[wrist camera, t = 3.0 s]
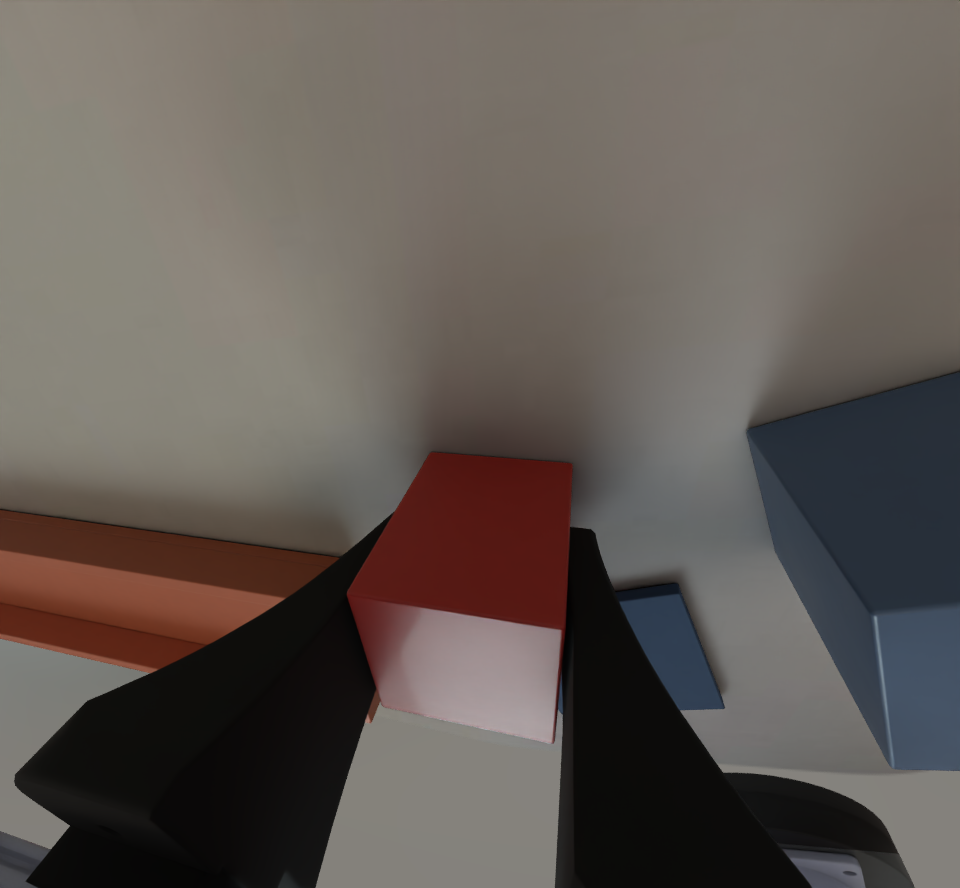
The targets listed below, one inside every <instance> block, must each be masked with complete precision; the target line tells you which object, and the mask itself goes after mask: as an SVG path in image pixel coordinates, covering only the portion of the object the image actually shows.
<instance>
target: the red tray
mask: <svg viewBox="0 0 960 888" xmlns="http://www.w3.org/2000/svg"><path fill="white" fill-rule="evenodd" d="M338 559H339V558H337V557H330V556H323V555H316V554H309V553H302V552H295V551H288V550H281V549H274V548H267V547H259V546H252V545H245V544H238V543H231V542H224V541H217V540H210V539H203V538H196V537H189V536H182V535H174V534H167V533H160V532H153V531H146V530H139V529H132V528H125V527H118V526H111V525H104V524H97V523H89V522H82V521H75V520H68V519H61V518H54V517H47V516H40V515H33V514H26V513H19V512H12V511H4V510H0V639H4V640H8V641H13V642H17V643H21V644H26V645H30V646H34V647H39V648H43V649H48V650H52V651H56V652H61V653H65V654H69V655H74V656H78V657H82V658H87V659H91V660H95V661H100V662H104V663H108V664H113V665H118V666H122V667H126V668H130V669H135V670H139V671H144V672H148V673H152V672H154V671H156V670H159V669H161V668H163V667H165V666H167V665H169V664H171V663H173V662H175V661H177V660H179V659H181V658H183V657H185V656H187V655H189V654H191V653H193V652H195V651H197V650H199V649H201V648H203V647H205V646H206V645H208V644H210V643H212V642H214V641H216V640H218V639H220V638H221V637H223V636H225V635H226V634H228V633H230V632H232V631H233V630H235V629H237V628H238V627H240V626H242V625H244V624H245V623H247V622H249V621H251V620H252V619H254V618H256V617H257V616H259V615H261V614H262V613H264V612H266V611H267V610H269V609H270V608H272V607H273V606H275V605H276V604H278V603H279V602H281V601H282V600H284V599H285V598H287V597H289V596H290V595H291V594H293V593H294V592H296V591H297V590H299V589H300V588H301V587H303V586H304V585H306V584H307V583H308V582H310V581H311V580H312V579H314V578H315V577H316V576H317V575H319V574H320V573H321V572H323V571H324V570H325V569H327V568H328V567H329V566H330V565H332V564H333V563H334V562H336V561H337V560H338ZM379 703H380V698H379V695H378V692H377V689H376V692H375V694H374V697H373V700H372V703H371V706H370V709H369V712H368V715H367V718H366V720H365V722H366V723H371V722H372V720H373V717H374V715H375V713H376V710H377V708H378V705H379Z"/></svg>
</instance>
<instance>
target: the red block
mask: <svg viewBox="0 0 960 888" xmlns="http://www.w3.org/2000/svg"><path fill="white" fill-rule="evenodd" d="M572 472H573V465H572V464H571V463H563V462H551V461H538V460H525V459H512V458H500V457H487V456H474V455H461V454H449V453H436V452H431V453H430V454H429V455H428V457H427V459H426V460H425V462H424V464H423V465H422V467H421V469H420V470H419V472H418V474H417V475H416V477H415V479H414V480H413V482H412V484H411V485H410V487H409V489H408V490H407V492H406V494H405V495H404V497H403V499H402V501H401V502H400V504H399V506H398V507H397V509H396V511H395V512H394V514H393V516H392V517H391V519H390V521H389V522H388V524H387V526H386V527H385V529H384V531H383V532H382V534H381V536H380V537H379V539H378V541H377V542H376V544H375V546H374V547H373V549H372V551H371V552H370V554H369V556H368V557H367V559H366V561H365V562H364V564H363V566H362V568H361V569H360V571H359V573H358V574H357V576H356V578H355V579H354V581H353V583H352V584H351V586H350V588H349V589H348V591H347V598H348V601H349V604H350V607H351V610H352V613H353V617H354V620H355V623H356V626H357V629H358V632H359V635H360V639H361V642H362V645H363V648H364V651H365V654H366V657H367V661H368V664H369V667H370V670H371V673H372V676H373V679H374V683H375V686H376V689H377V692H378V695H379V698H380V701H381V705H382V706H383V707H386V708H390V709H395V710H399V711H404V712H408V713H413V714H418V715H422V716H427V717H431V718H436V719H440V720H445V721H450V722H454V723H459V724H463V725H468V726H472V727H477V728H481V729H486V730H491V731H495V732H500V733H504V734H509V735H513V736H518V737H523V738H527V739H532V740H536V741H541V742H545V743H550V744H553V743H554V741H555V733H556V723H557V712H558V702H559V692H560V682H561V671H562V661H563V651H564V641H565V630H566V611H567V588H568V565H569V542H570V518H571V495H572Z"/></svg>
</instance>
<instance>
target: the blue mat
mask: <svg viewBox="0 0 960 888" xmlns="http://www.w3.org/2000/svg"><path fill="white" fill-rule="evenodd" d="M615 593H616V596H617V598H618V600H619V602H620V605H621V607H622V609H623V611H624V613H625V615H626V617H627V620H628V622H629V624H630V625H631V627H632V629H633V631H634V633H635V635H636V637H637V639H638V641H639V643H640V645H641V647H642V649H643V650H644V652H645V654H646V656H647V658H648V659H649V661H650V663H651V665H652V666H653V668H654V670H655V671H656V673H657V675H658V676H659V678H660V680H661V681H662V683H663V685H664V686H665V688H666V690H667V691H668V693H669V694H670V696H671V697H672V699H673V701H674V702H675V704H676V705H677V707H678V709H679V710H704V709H724V708H725V707H724V703H723V699H722V696H721V694H720V691H719V689H718V686H717V684H716V681H715V678H714V676H713V673H712V671H711V668H710V665H709V663H708V660H707V658H706V655H705V652H704V650H703V647H702V645H701V642H700V640H699V637H698V634H697V632H696V629H695V627H694V624H693V621H692V619H691V616H690V614H689V611H688V608H687V606H686V603H685V601H684V598H683V596H682V593H681V590H680V588H679V585H678V584H677V583H675V584H668V585H662V586H655V587H648V588H641V589H634V590H628V591H621V592H615ZM558 709H559V711H560V713H562V714H563V703H562V672H561V682H560V692H559V702H558Z"/></svg>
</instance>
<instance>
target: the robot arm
mask: <svg viewBox="0 0 960 888" xmlns="http://www.w3.org/2000/svg"><path fill="white" fill-rule="evenodd" d="M393 514H394V512H393V513H392V514H391V515H390V516H389V517H387V518H386V519H385V520H384V521H383V522H382V523H381V524H379V525H378V526H377V527H376V528H375V529H374V530H372V531H371V532H370V533H369V534H368V535H367V536H366V537H364V538H363V539H362V540H361V541H360V542H359V543H357V544H356V545H355V546H354V547H353V548H351V549H350V550H349V551H348V552H347V553H345V554H344V555H343V556H342V557H341V558H339V559H338V560H337V561H336V562H334V563H333V564H332V565H330V566H329V567H328V568H327V569H325V570H324V571H323V572H321V573H320V574H319V575H317V576H316V577H315V578H314V579H312V580H311V581H310V582H308V583H307V584H306V585H304V586H303V587H301V588H300V589H299V590H297V591H296V592H294V593H293V594H291V595H290V596H289V597H287V598H285V599H284V600H282V601H281V602H279V603H278V604H276V605H275V606H273V607H272V608H270V609H269V610H267V611H266V612H264V613H262V614H261V615H259V616H257V617H256V618H254V619H252V620H251V621H249V622H247V623H245V624H244V625H242V626H240V627H238V628H237V629H235V630H233V631H232V632H230V633H228V634H226V635H225V636H223V637H221V638H220V639H218V640H216V641H214V642H212V643H210V644H208V645H206V646H205V647H203V648H201V649H199V650H197V651H195V652H193V653H191V654H189V655H187V656H185V657H183V658H181V659H179V660H177V661H175V662H173V663H171V664H169V665H167V666H165V667H163V668H161V669H159V670H156V671H154V672H152V673H150V674H148V675H146V676H143V677H141V678H139V679H137V680H134V681H132V682H130V683H128V684H125V685H123V686H121V687H119V688H116V689H114V690H112V691H110V692H107V693H105V694H103V695H100V696H98V697H95V698H93V699H91V700H89V701H87V702H86V703H85V704H84V705H83V706H82V707H81V708H80V709H79V710H78V711H77V712H76V713H75V714H74V715H73V716H72V717H71V718H70V719H69V720H68V721H67V722H66V723H65V724H64V725H63V726H62V727H61V728H60V729H59V730H58V731H57V732H56V733H55V734H54V735H53V736H52V737H51V738H50V739H49V740H48V741H47V742H46V744H44V745H43V747H42V748H41V749H40V750H39V751H38V752H37V753H36V754H35V755H34V756H33V757H32V758H31V759H30V760H29V761H28V762H27V763H26V764H25V765H24V766H23V767H22V768H21V769H20V770H19V771H18V772H17V773H16V774H15V780H14V782H15V786H17V788H18V789H19V790H20V791H21V792H22V793H24V794H25V795H26V796H28V797H29V798H31V799H32V800H33V801H35V802H36V803H38V804H39V805H41V806H42V807H43V808H45V809H46V810H48V811H50V812H51V813H53V814H54V815H55V816H57V817H58V818H60V819H61V820H63V821H64V822H66V823H67V824H68V825H70V827H69V828H68V829H67V830H66V832H65V833H64V834H63V836H62V837H61V838H60V839H59V840H58V842H57V843H56V844H55V845H54V847H53V848H52V849H48V848H45V847H43V846H40V845H37V844H34V843H32V842H28V841H26V840H23V839H20V838H18V837H15V836H12V835H9V834H7V833H4V832H1V831H0V888H315V887H316V883H317V880H318V876H319V872H320V869H321V865H322V862H323V858H324V854H325V851H326V847H327V843H328V840H329V836H330V833H331V829H332V826H333V822H334V819H335V816H336V812H337V809H338V805H339V802H340V799H341V796H342V792H343V789H344V785H345V782H346V779H347V776H348V772H349V769H350V766H351V763H352V760H353V757H354V754H355V751H356V748H357V744H358V741H359V738H360V735H361V732H362V729H363V726H364V723H365V720H366V718H367V715H368V712H369V709H370V706H371V703H372V700H373V697H374V694H375V692H376V686H375V683H374V679H373V676H372V673H371V670H370V667H369V664H368V661H367V657H366V654H365V651H364V648H363V645H362V642H361V639H360V635H359V632H358V629H357V626H356V623H355V620H354V617H353V613H352V610H351V607H350V604H349V601H348V598H347V591H348V589H349V588H350V586H351V584H352V583H353V581H354V579H355V578H356V576H357V574H358V573H359V571H360V569H361V568H362V566H363V564H364V562H365V561H366V559H367V557H368V556H369V554H370V552H371V551H372V549H373V547H374V546H375V544H376V542H377V541H378V539H379V537H380V536H381V534H382V532H383V531H384V529H385V527H386V526H387V524H388V522H389V521H390V519H391V517H392V516H393ZM561 672H562V703H563V736H562V759H561V779H560V800H559V819H558V839H557V858H556V878H555V888H865V883H864V879H863V874H862V870H861V867H860V864H859V862H858V860H857V859H856V858H855V857H854V856H852V855H849V854H843V853H832V852H821V851H810V850H798V849H787V848H781V847H780V846H779V845H778V843H777V842H776V841H775V840H774V839H773V837H772V836H771V835H770V833H769V832H768V831H767V830H766V828H765V827H764V826H763V825H762V823H761V822H760V821H759V819H758V818H757V817H756V816H755V814H754V813H753V812H752V811H751V809H750V808H749V807H748V805H747V804H746V803H745V801H744V800H743V799H742V797H741V796H740V795H739V793H738V792H737V791H736V789H735V788H734V787H733V785H732V784H731V783H730V781H729V780H728V779H727V777H726V776H725V775H724V773H723V772H722V771H721V769H720V768H719V767H718V765H717V764H716V762H715V761H714V759H713V758H712V757H711V755H710V754H709V752H708V751H707V749H706V748H705V746H704V745H703V744H702V742H701V741H700V739H699V738H698V736H697V735H696V733H695V732H694V731H693V729H692V728H691V726H690V725H689V723H688V722H687V720H686V719H685V718H684V716H683V715H682V713H681V712H680V710H679V709H678V707H677V705H676V704H675V702H674V701H673V699H672V697H671V696H670V694H669V693H668V691H667V690H666V688H665V686H664V685H663V683H662V681H661V680H660V678H659V676H658V675H657V673H656V671H655V670H654V668H653V666H652V665H651V663H650V661H649V659H648V658H647V656H646V654H645V652H644V650H643V649H642V647H641V645H640V643H639V641H638V639H637V637H636V635H635V633H634V631H633V629H632V627H631V625H630V624H629V622H628V620H627V617H626V615H625V613H624V611H623V609H622V607H621V605H620V602H619V600H618V598H617V596H616V593H615V591H614V589H613V586H612V584H611V582H610V579H609V577H608V574H607V571H606V569H605V566H604V563H603V560H602V557H601V554H600V551H599V548H598V544H597V540H596V535H595V533H594V532H593V531H592V530H591V529H583V528H574V527H570V542H569V565H568V588H567V611H566V630H565V641H564V651H563V661H562V671H561Z"/></svg>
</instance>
